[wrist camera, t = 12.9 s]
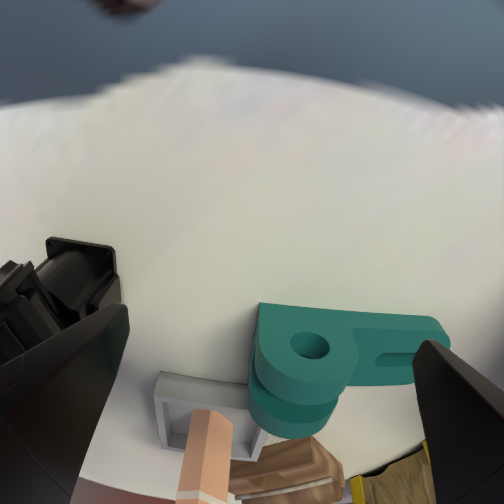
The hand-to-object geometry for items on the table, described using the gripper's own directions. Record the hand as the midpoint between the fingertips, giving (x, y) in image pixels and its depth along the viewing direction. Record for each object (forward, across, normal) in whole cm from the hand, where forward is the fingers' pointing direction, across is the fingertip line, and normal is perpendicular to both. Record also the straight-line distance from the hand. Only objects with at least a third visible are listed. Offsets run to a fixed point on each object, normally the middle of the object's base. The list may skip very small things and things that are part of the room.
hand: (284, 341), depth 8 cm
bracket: (+13, -10, +11) cm, 20 cm away
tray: (+13, +2, +23) cm, 26 cm away
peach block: (+12, +2, +23) cm, 26 cm away
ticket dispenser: (+13, -8, +35) cm, 38 cm away
